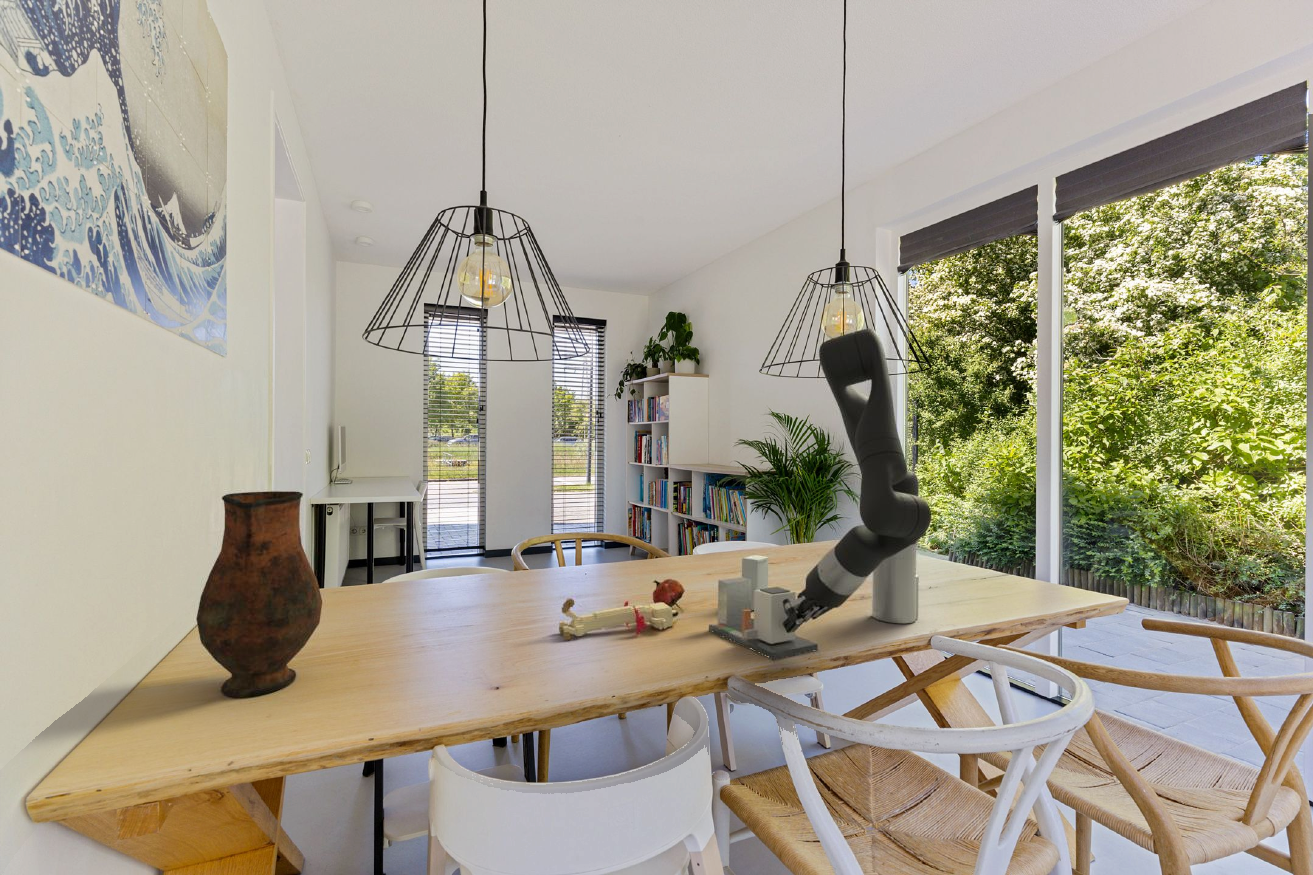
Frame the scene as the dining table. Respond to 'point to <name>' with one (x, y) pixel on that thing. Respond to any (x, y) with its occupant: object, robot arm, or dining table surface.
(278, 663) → the brown clay vase
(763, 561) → the skincare box
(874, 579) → the robot arm
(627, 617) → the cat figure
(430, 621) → the dining table surface
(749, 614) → the peak pointer
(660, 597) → the pomegranate
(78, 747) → the dining table surface
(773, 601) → the dark-topped white block
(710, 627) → the base
